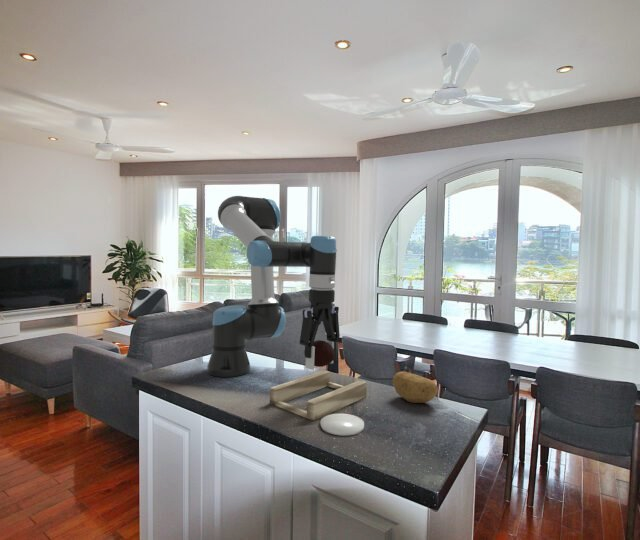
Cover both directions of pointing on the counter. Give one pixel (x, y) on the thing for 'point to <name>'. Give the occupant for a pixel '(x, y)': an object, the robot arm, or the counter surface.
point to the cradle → (319, 404)
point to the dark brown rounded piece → (323, 353)
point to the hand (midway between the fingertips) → (319, 365)
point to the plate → (342, 424)
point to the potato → (414, 387)
